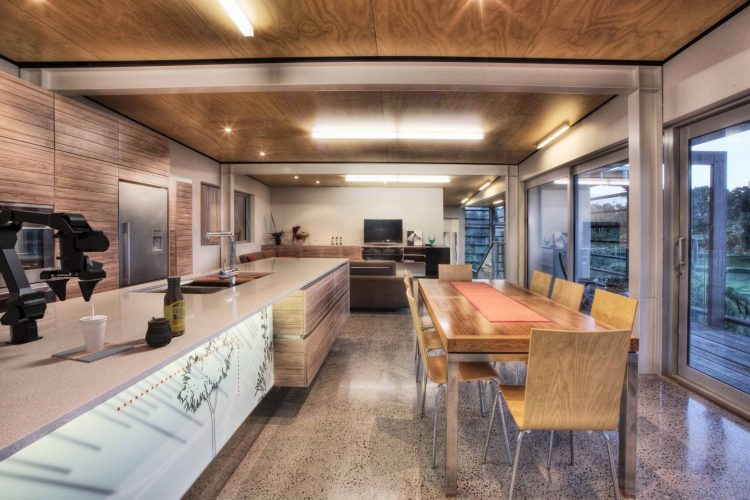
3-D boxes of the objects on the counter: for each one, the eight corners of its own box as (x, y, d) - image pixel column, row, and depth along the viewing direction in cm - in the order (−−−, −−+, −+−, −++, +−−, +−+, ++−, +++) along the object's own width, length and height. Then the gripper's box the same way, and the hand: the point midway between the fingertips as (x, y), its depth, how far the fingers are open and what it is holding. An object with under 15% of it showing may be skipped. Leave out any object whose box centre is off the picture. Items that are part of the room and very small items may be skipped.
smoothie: (76, 355, 95) (74, 306, 94) (85, 348, 101) (82, 301, 100) (105, 351, 97) (102, 304, 97) (111, 345, 103) (109, 300, 102)
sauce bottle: (175, 338, 111) (173, 278, 110) (159, 337, 112) (156, 277, 111) (190, 332, 117) (188, 275, 116) (174, 331, 118) (172, 275, 117)
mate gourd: (174, 339, 109) (173, 309, 109) (171, 347, 102) (170, 315, 102) (148, 342, 106) (147, 311, 106) (143, 350, 99) (141, 317, 99)
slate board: (52, 355, 96) (51, 354, 96) (98, 342, 107) (98, 341, 107) (90, 362, 91) (90, 361, 91) (134, 347, 102) (134, 346, 102)
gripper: (120, 250, 113) (123, 297, 114) (74, 251, 116) (77, 295, 117) (87, 253, 102) (90, 304, 103) (36, 253, 105) (40, 302, 106)
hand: (75, 301), depth 107 cm, fingers open, 9 cm apart
